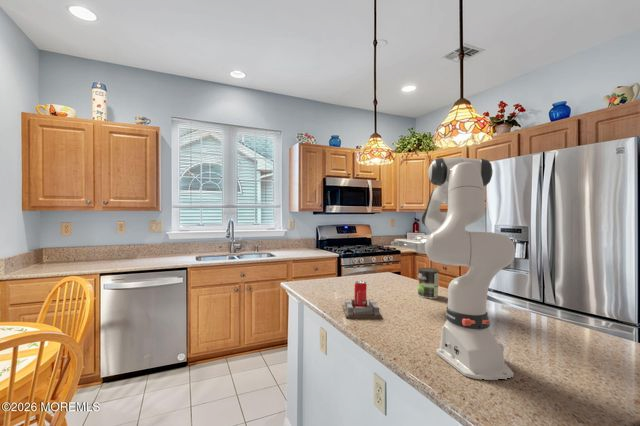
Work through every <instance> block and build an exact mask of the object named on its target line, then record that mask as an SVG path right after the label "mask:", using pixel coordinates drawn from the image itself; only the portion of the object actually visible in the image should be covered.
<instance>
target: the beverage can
mask: <svg viewBox="0 0 640 426" xmlns="http://www.w3.org/2000/svg"><path fill="white" fill-rule="evenodd" d="M367 287H368V286H367V282H366V281H363V280H356V281H355V283H354V297H353V299H354V307H366V299H367Z"/></svg>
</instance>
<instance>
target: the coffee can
mask: <svg viewBox="0 0 640 426" xmlns="http://www.w3.org/2000/svg"><path fill="white" fill-rule="evenodd" d="M417 271H418V272H417V273H418V277H417V278H418V279H417V296H418V297H419V298H422V297H423V298H422V299H428V298H429V299H430V300H431V299H433V300H434V299H437V298H438V297H439V269H437V268H431V267H420V268H418V269H417Z"/></svg>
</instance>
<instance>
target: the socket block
mask: <svg viewBox="0 0 640 426" xmlns="http://www.w3.org/2000/svg"><path fill="white" fill-rule="evenodd" d="M341 306H342V310H343V312H344V316H345V319H367V320H368V319H371V320H372V319H380V320H381V319H382V318H383V315H382V313H381V312H380V308H379V306H378V304H377V302H376V301H375V300H374V299H373V298H369V299H367V298H366V307H354V298H352V299H350V298H345V299H344V304H342V305H341Z"/></svg>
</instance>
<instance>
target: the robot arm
mask: <svg viewBox="0 0 640 426" xmlns="http://www.w3.org/2000/svg"><path fill="white" fill-rule="evenodd" d="M427 175H428V179H429V182H430V183H431V184H432V185H435V187H434V188H433V190H432V191H431V193H430V196H429V199H428V201H427V205H426V207H425V211H424V213H423V214H422V217H421V223H422V225H423V226H425V227H426V228H427V229H428V230H429V231H430V233H429V234H418V235H416V236H415V237H414V238H413V239H409V238H394V239H393V241H391V246H393V247H398V248H403V249H408V250H414V251H415V252H416V253H417V254H426V256H427V258H428V260H430V261H431V262H433V263H437V264H441V265H444V266H445V265H446V266H458V267H468V268H469V269H468V270H467V271H466V273H465V274H463V275H461V276H457V277H455V278H454V279H452V280H451V281H450V282H449V283H448V287H447V290H448V293H447V306H446V309H445V318H446V321H445V323H444V325H442V327H441V332H440V343H439V347H438V348H436V349H435V354H437V356H439V357H440V358H442V360H444V361H445V362H446V363H448V364H449V365H450V366H452V367H453V368H454V369H456V370H457V372H459V373H460V374H461V375H463V376H464V377H468V378H470V379H476V380H482V379H484V380H483V381H499V380H498V379H505V380H508V379H507V378H510V379H512V378H514V377H515V376H514V375H515V374H514V372H513V371H512V369H511V368H510V367H509V366H508V365H507V363H506V362H505V361H504V359H505V358H504V345H503V344H502V343H499V342H498V340H497V339H496V337H495V334H493V332H492V330H491V328H490V326H491V323H490V322H491V320H490V316H489V314H488V312H487V301H488V300H487V299H488V291H489V287H490V284H491V283H492V280H493V279H494V278H495V276H496V275H497V274H498V273H499V272H500V271H502V269H505V268H506V267H508V266H509V265H510V264H511V263H512V262H513V261H514V260H515V256H516V247H515V244H514V242H513V240H512V239H511V238H510V237H509V236H508V235H506V234H502V233H496V232H490V231H467V230H466V227H467V226H468V225H470V224H473V223H476V222H478V221H480V220H481V219H482V218H483V217H484V216H485V213H486V203H485V202H486V201H485V188H484V187H486V186H488V184H490V182H491V180H492V177H493V166H492V163H491V162H490V161H489V160H488V159H484V158H478V159H477V158H470V157H469V158H468V157H447V158H446V157H445V158H443V157H440V158H435V159H432V161H431V162H430V165H429V167H428V171H427ZM442 204H443V205H447V213H446V216H444V215H443V213H442V212H441V209H440V208H441V206H442ZM513 376H514V377H513ZM511 377H512V378H511Z"/></svg>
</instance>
